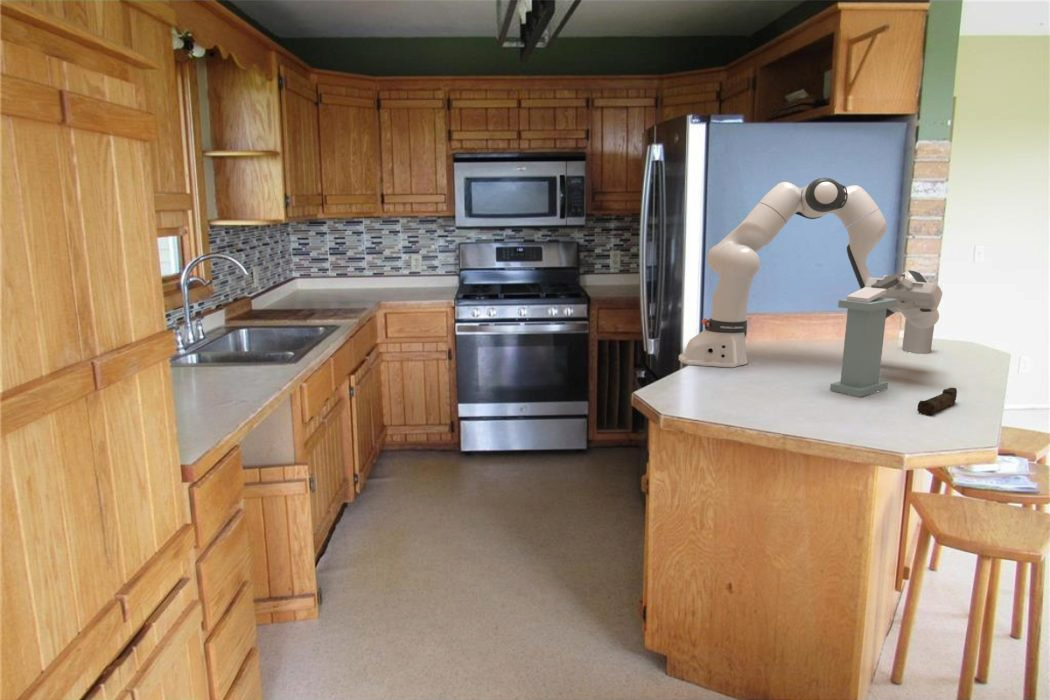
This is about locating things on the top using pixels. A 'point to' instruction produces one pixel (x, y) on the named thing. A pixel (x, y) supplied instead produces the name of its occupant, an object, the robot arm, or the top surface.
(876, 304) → the stand
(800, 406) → the top surface
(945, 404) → the dark brown elongated piece
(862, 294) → the turner
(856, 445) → the top surface
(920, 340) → the cup
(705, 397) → the top surface
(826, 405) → the top surface
